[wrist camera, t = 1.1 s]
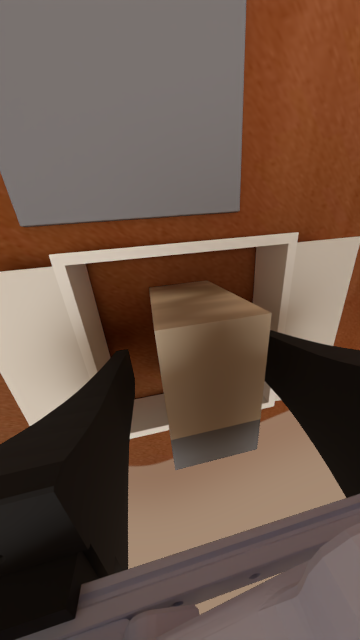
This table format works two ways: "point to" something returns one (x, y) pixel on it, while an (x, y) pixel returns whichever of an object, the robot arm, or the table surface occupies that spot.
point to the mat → (121, 108)
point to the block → (210, 369)
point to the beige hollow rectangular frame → (87, 333)
